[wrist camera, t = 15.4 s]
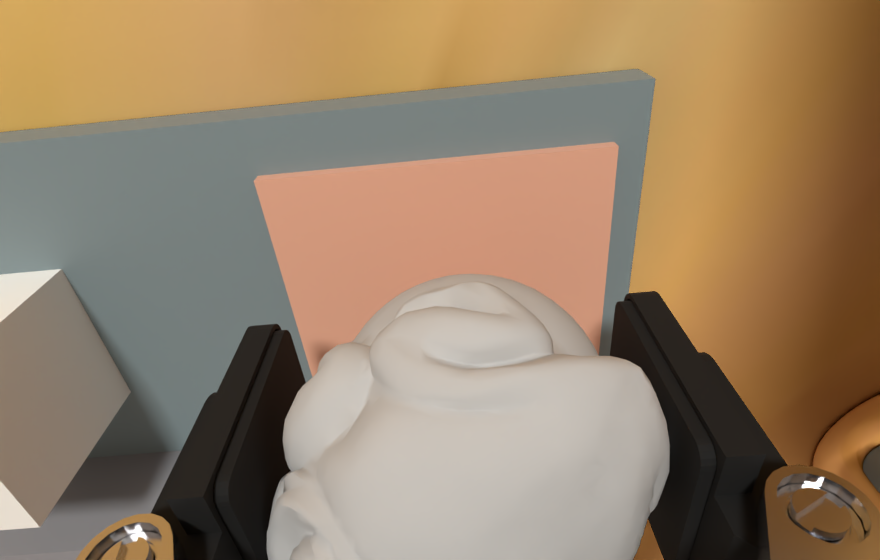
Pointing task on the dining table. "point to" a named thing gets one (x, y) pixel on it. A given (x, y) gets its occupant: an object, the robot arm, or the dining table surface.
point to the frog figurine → (470, 437)
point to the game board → (274, 258)
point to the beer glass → (854, 449)
